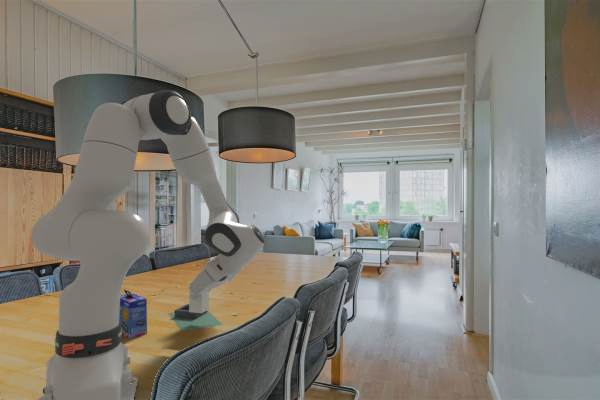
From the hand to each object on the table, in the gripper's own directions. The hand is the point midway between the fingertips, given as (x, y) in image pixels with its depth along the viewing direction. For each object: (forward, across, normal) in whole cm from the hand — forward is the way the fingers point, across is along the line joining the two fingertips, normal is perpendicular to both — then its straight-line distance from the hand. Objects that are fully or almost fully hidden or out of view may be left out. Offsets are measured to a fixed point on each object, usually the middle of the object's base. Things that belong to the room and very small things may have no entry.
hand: (197, 295), depth 114 cm
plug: (+3, 0, +4) cm, 5 cm away
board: (+10, -5, +5) cm, 12 cm away
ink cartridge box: (+19, +12, -3) cm, 22 cm away
